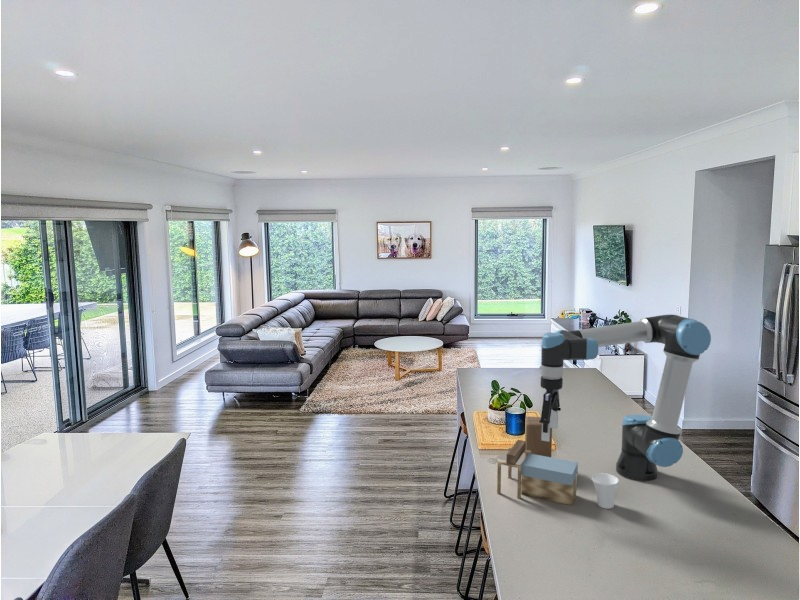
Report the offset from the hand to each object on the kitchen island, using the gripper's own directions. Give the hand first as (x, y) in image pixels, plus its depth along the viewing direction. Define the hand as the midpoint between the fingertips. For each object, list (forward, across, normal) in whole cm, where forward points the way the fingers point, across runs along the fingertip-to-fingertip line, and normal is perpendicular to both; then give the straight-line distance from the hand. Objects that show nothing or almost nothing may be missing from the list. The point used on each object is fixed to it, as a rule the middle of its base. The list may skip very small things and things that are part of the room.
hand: (549, 434), depth 194 cm
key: (+11, 0, -12) cm, 16 cm away
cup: (+23, -2, +19) cm, 30 cm away
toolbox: (+23, 0, -4) cm, 23 cm away
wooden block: (+23, -21, -9) cm, 32 cm away
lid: (+15, 0, 0) cm, 15 cm away
